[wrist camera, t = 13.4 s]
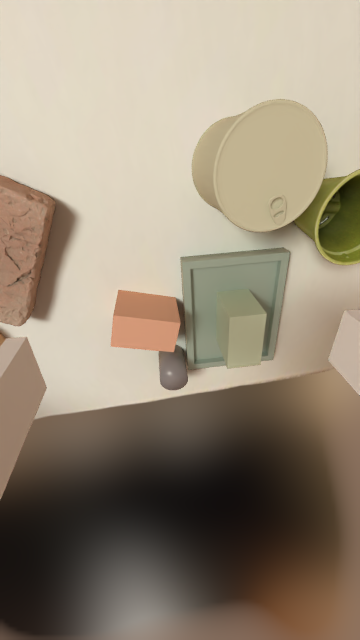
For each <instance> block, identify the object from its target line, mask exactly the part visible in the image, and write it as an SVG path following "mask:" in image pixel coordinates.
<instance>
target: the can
mask: <svg viewBox="0 0 360 640" xmlns="http://www.w3.org/2000/svg"><path fill="white" fill-rule="evenodd" d="M327 155H328V153H327V142H326V137H325V134H324V130H323V128H322V126H321V124H320V122H319V121H318V119H317V117H316V116H315V115H314V114H313V113H312V112H311V111H310V110H309V109H308V108H307V107H305V106H303V105H301V104H299V103H297V102H295V101H291V100H285V99H276V100H269V101H266V102H262V103H260V104H258V105H256V106H254V107H252V108H250V109H249V110H247V111H246V112H244V113H241V114H239V115H237V116H233V117H227V118H224V119H221V120H219V121H218V122H216V123H214V124H213V125H212V126H210V127H209V128H208V129H207V130H206V131H205V133H204V134H203V135H202V137H201V138H200V140H199V142H198V144H197V146H196V148H195V151H194V155H193V160H192V176H193V181H194V184H195V187H196V189H197V191H198V193H199V195H200V196H201V197H202V198H203V200H204V201H205V202H207V203H208V204H209V205H211V206H213V207H215V208H217V209H218V210H219V211H221V212H222V213H223V214H224V215H225V216H226V217H227V218H228V219H229V220H230V221H231V222H232V223H233V224H235V225H236V226H238V227H240V228H242V229H244V230H248V231H252V232H268V231H273V230H276V229H279V228H282V227H284V226H286V225H287V224H289V223H291V222H292V221H294V220H295V219H296V218H298V217H299V216H300V215H301V214H302V213H303V212H304V211H305V210H306V209H307V208H308V206H309V205H310V204H311V202H312V201H313V199H314V198H315V196H316V195H317V193H318V191H319V189H320V187H321V184H322V182H323V179H324V175H325V171H326V166H327Z"/></svg>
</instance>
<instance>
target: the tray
mask: <svg viewBox="0 0 360 640" xmlns="http://www.w3.org/2000/svg"><path fill="white" fill-rule="evenodd" d="M289 255H290V252H289V251H288V250H286V249H285V248H273V249H263V250H252V251H242V252H231V253H220V254H210V255H199V256H188V257H180V260H181V276H182V292H183V308H184V324H185V341H186V357H187V365H188V370H192V369H200V368H209V367H217V366H226V363H225V361H224V358H223V355H222V353H221V350H220V347H219V345H218V342H217V339H216V305H217V292H221V291H231V290H240V289H249V290H250V292H251V293H252V294H253V296H254V297H255V298H256V300H257V301H258V302H259V304H260V305H261V306H262V308H263V309H264V310H265V312H266V313H267V316H266V324H265V332H264V340H263V348H262V356H261V361H268V360H273V358H274V352H275V345H276V339H277V332H278V326H279V320H280V313H281V307H282V300H283V294H284V288H285V281H286V275H287V268H288V262H289Z"/></svg>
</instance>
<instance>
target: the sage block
mask: <svg viewBox="0 0 360 640" xmlns="http://www.w3.org/2000/svg"><path fill="white" fill-rule="evenodd" d="M266 316H267V313H266V312H265V310H264V309H263V308H262V306H261V305H260V304H259V302H258V301H257V300H256V298H255V297H254V296H253V294H252V293H251V292H250V290H249V289H240V290H231V291H221V292H217V305H216V339H217V342H218V345H219V347H220V350H221V353H222V355H223V358H224V361H225V363H226V366H227V369H229V368H238V367H246V366H254V365H260V364H261V356H262V348H263V340H264V332H265V324H266Z"/></svg>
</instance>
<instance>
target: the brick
mask: <svg viewBox="0 0 360 640" xmlns="http://www.w3.org/2000/svg"><path fill="white" fill-rule="evenodd" d="M54 212H55V202H54V201H53V200H52V199H51V198H50V197H49V196H47V195H45V194H43V193H41V192H39V191H37V190H34V189H32V188H30V187H27V186H25V185H22V184H18V183H16V182H14V181H13V180H11V179H9V178H7V177H4V176H0V322H2V323H6V324H11V325H14V326H21V325H23V324H24V323H26V321H27V320H28V318H29V317H30V315H31V312H32V311H33V307H34V305H35V300H36V291H37V286H38V283H39V281H40V275H41V268H42V266H43V262H44V257H45V251H46V248H47V244H48V238H49V234H50V229H51V224H52V218H53V214H54Z"/></svg>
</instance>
